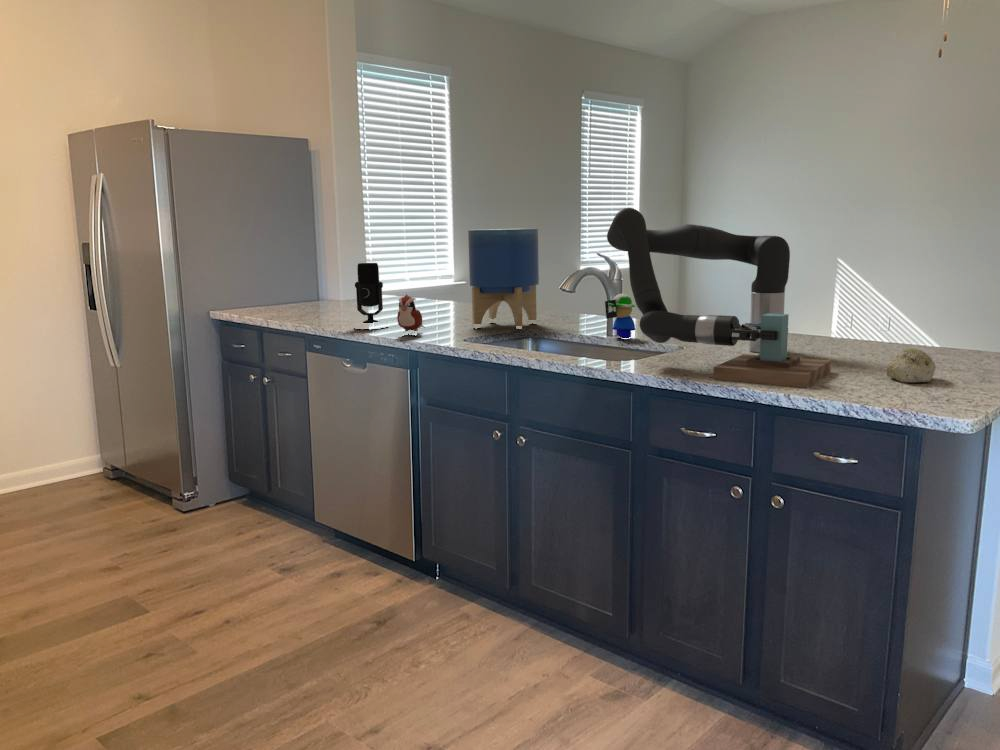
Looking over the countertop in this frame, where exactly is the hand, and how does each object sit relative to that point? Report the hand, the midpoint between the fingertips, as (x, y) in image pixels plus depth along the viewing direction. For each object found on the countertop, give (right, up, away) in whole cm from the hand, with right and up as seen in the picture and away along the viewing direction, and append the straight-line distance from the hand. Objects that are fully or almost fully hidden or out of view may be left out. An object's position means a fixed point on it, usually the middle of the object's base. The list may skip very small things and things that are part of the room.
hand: (782, 333), depth 195 cm
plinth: (-1, -10, +3) cm, 11 cm away
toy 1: (-100, +4, +94) cm, 137 cm away
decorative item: (+28, -11, -6) cm, 31 cm away
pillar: (-2, -7, +2) cm, 8 cm away
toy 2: (-28, +2, +72) cm, 78 cm away
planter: (-66, +8, +113) cm, 132 cm away
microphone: (-119, +8, +119) cm, 168 cm away
